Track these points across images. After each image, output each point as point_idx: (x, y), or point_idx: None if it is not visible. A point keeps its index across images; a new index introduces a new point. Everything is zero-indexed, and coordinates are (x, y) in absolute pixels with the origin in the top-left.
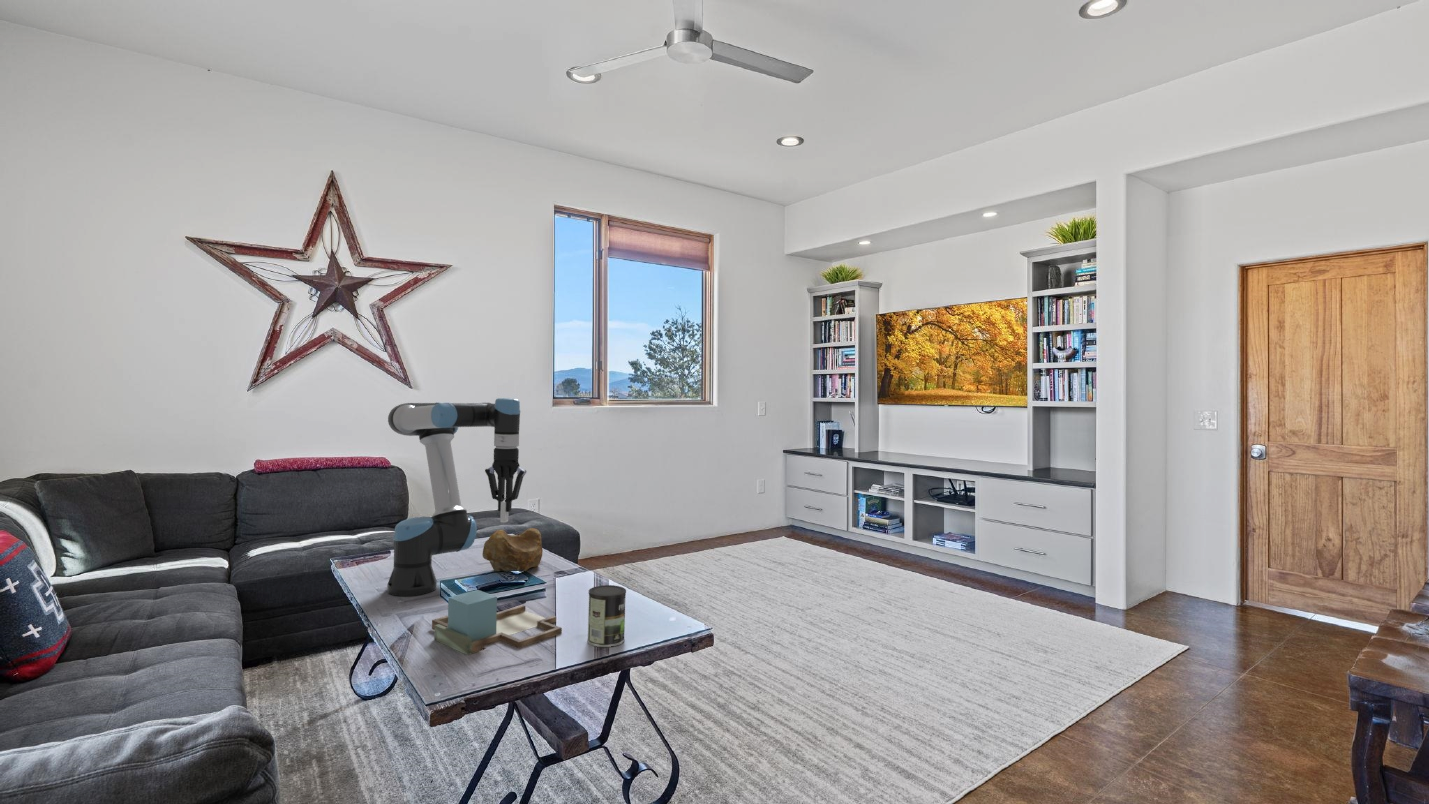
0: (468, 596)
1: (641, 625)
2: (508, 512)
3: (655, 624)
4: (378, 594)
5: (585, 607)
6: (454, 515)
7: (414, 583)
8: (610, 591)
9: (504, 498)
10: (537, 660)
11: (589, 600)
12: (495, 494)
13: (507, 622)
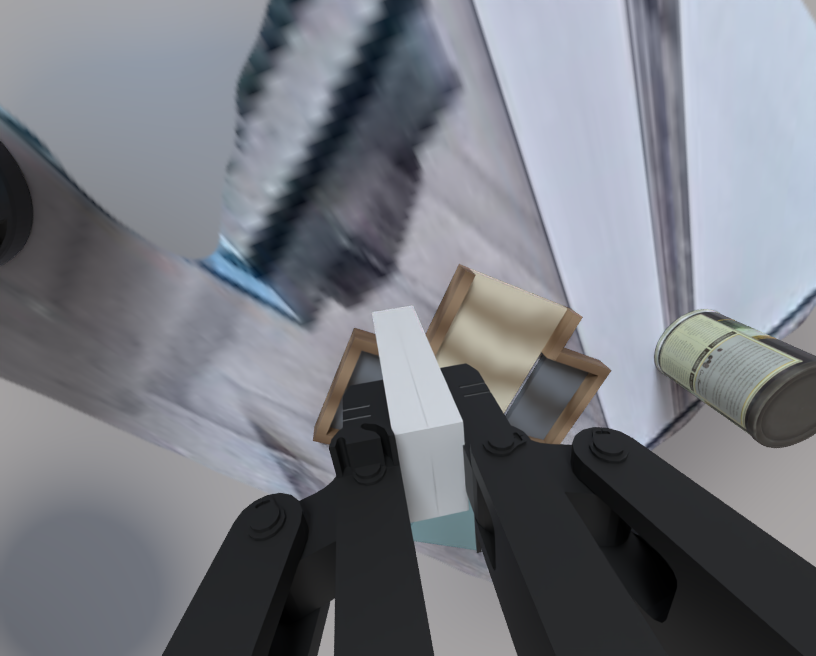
0: (446, 519)
1: (767, 234)
2: (428, 343)
3: (801, 214)
4: None
5: (615, 147)
6: None
7: None
8: (808, 408)
9: (397, 461)
10: None
11: (736, 422)
12: (317, 647)
13: (466, 357)
